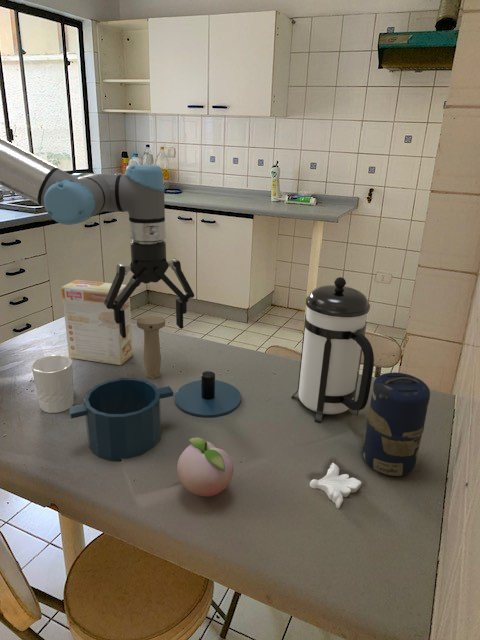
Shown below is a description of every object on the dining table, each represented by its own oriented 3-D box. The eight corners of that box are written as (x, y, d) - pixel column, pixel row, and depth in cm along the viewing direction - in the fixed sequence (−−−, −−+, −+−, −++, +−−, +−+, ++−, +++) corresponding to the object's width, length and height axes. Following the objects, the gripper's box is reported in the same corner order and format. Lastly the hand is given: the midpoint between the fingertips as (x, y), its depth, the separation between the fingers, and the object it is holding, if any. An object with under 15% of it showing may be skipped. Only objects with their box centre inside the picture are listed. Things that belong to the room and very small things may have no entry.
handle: (139, 373, 114) (137, 316, 108) (166, 372, 115) (165, 315, 109) (139, 382, 110) (136, 324, 104) (166, 381, 111) (165, 323, 105)
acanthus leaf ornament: (331, 467, 84) (333, 459, 84) (364, 488, 80) (365, 479, 79) (305, 486, 79) (306, 477, 79) (338, 509, 75) (340, 500, 74)
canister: (418, 484, 81) (438, 395, 74) (362, 476, 82) (378, 388, 76) (409, 450, 90) (427, 368, 83) (359, 443, 91) (372, 362, 84)
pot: (68, 430, 91) (63, 388, 88) (161, 409, 100) (160, 370, 96) (80, 473, 80) (75, 427, 77) (183, 445, 88) (183, 402, 85)
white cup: (41, 419, 95) (35, 375, 91) (34, 400, 101) (28, 359, 97) (81, 408, 99) (76, 367, 95) (71, 391, 105) (67, 352, 101)
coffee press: (279, 416, 99) (290, 282, 87) (303, 383, 112) (315, 263, 101) (360, 440, 92) (384, 298, 81) (375, 402, 105) (397, 276, 94)
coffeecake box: (133, 354, 123) (130, 284, 116) (121, 366, 117) (116, 293, 109) (82, 347, 126) (76, 278, 119) (68, 358, 120) (60, 286, 112)
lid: (165, 391, 106) (164, 365, 104) (223, 379, 113) (224, 354, 110) (188, 426, 94) (188, 398, 92) (252, 410, 101) (254, 383, 98)
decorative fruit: (166, 492, 77) (164, 442, 73) (201, 468, 83) (201, 420, 79) (206, 522, 71) (207, 470, 67) (241, 494, 77) (243, 444, 73)
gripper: (91, 248, 91) (100, 346, 99) (208, 239, 102) (207, 328, 110) (85, 241, 97) (94, 333, 105) (195, 233, 108) (196, 317, 116)
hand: (152, 330), depth 108 cm, fingers open, 13 cm apart
